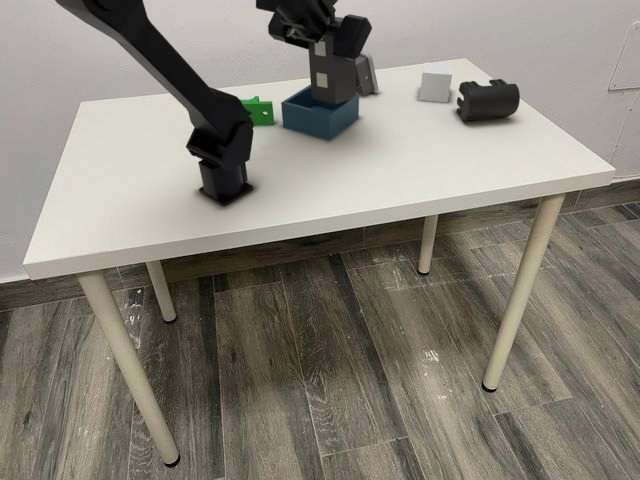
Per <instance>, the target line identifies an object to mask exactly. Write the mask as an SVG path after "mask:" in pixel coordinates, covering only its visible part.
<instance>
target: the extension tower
mask: <svg viewBox="0 0 640 480" xmlns="http://www.w3.org/2000/svg"><path fill="white" fill-rule="evenodd" d="M343 19H344V17H342V16H341V17H339V16H336V13H334V16H333V17H330V20H334V21H339V22H341V21H342V20H343ZM334 38H335V37H332V36H328V35H324V37H323V39H322V40H319V42H318V43H314V42H310V41H308V49H307V50H308V63H309V64H308V65H309V76H310V84H311V94H312V99H314V100H318V101H322V102H327V103H331V104H335V105H336V104H338V103H341V102H343V101H345V100H348V99H350V98H352V97H354V96H356V59H354V61H353V62H352V61H349V60H346V59H343V58H340V57H337V56H334V55H332V54H333V52H334V50H333V40H334Z"/></svg>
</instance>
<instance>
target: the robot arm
mask: <svg viewBox="0 0 640 480" xmlns="http://www.w3.org/2000/svg"><path fill="white" fill-rule="evenodd" d="M54 1H55V2H56V4H58V5H59V6H60V7H61V8H63V9H64V10H65V11H67V12H68V13H70V14H71V15H73V16H75V17H77V19H79V20H80V21H81V22H83V23H84V24H87V25H89V26H90V27H91V28H93V29H95V30H97V31H99V32H100V33H102V34H104V35H105V36H107V37H109V38H111V39H112V40H114V41H115V42H116V43H117V44H119V46H120V47H121V48H123V49H124V50H125V51H126V52H127V53H128V54H129V55H130V56H131V58H132V59H134V60H135V61H136V62H137V63H138V64H139V65H140V66H141V67H142V68H143V69H145V71H147V72H148V74H149V75H150V76H151V77H153V79H155V80H156V82H158V83H159V84H160V85H161V86H162V87H163V88H164V89H165V90H166V91H167V92H168V93H169V94H170V95H171V96H172V97H173V98H174V99H175V100H176V101H178V103H179V104H181V106H183V108H185V109H186V111H187V112H188V117H189V121H190V123H191V124H192V126H193V130H192V132H191V134H190V136H189V138H188V140H187V143H186V145H185V148H186V149H187V151H188V152H189V154H190V155H191V156H193V157H195V158H198V159H200V160H199V161H198V163H197V164H198V167H199V172H200V177H201V181H202V187H199V188H198V192H199V194H201V195H203V196H205V197H207V198H208V199H210V200H211V201H213V202H215V203H217V204H218V205H220V206H222V207H226V206H227V205H229V204H231V203H232V202H235V201H237V200H238V199H239V198H241V197H243V196H244V195H246V194H248V193H249V192H251V191H253V190H254V185H253V184H251V183H249V182H248V181H249V178H248V171H247V162H249V161H250V160H251V153H252V148H253V140H254V127H255V125H254V123H253V121H252V119H251V117H250V116H249V115H251V114H252V112H250V111H248V110H247V109H245V107H244V106H243V104H242V102H241V101H240V100H241V99H240V98H239V96H237V95H235V94H232V93H228V92H226V91H222V90H220V89H217V88H214V87H211V86H209V85H208V84H207V83H206V82H205V81H204V79H203V78H202V77H201V76H200V75H199V74H198V73H197V71H195V69H194V67H192V66H191V65H190V64H189V62H188V61H186V60H185V58H184V56H182V55H181V54H180V53H179V52H178V50H177V49H175V47H174V46H173V45H172V44H171V43H170V42H169V41H168V39H167V38H166V37H165V36H164V35H163V34H162V33H161V32H160V31H159V30H158V29H157V27H156V26H155V25H154V24H153V22H151V20H150V19H149V17H148V13H147V9H146V7H145V3H144V0H54ZM338 1H339V0H255V8H256V9H257V10H261V11H264V12H265V11H266V12H270V13H273V14H272V16H271V19H270V21H269V22H268V25H267V31H268V35H269V36H270V37H271V38H272V39H273V40H275V41H280V42H283V43H285V44H287V45H291V46H295V47H298V48H300V49H304V50H308V41H310V42H314V43H318V42H319V40H322V39H323V37H324V35H328V36H332V37H335V38H334V40H333V50H334V52H333V54H332V55H334V56H337V57H340V58H343V59H346V60H349V61H352V62H353V61H354V59H356V58H358V57H359V55H360V53H361V51H362V50H363V49H364V47H365V46H366V42H367V40H368V39H369V36H370V34H371V33H372V29H373V26H372V23H371V22H370V20H369V18H368V17H366V16H361V15H355V14H351V13H349V14H346V15H344V17H343V18H344V19H343V20H342V21H341V22H339V21H334V20H330V17H333V16H334V14H336V11H337V9H336V8H335V5H336V3H338Z"/></svg>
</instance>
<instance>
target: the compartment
mask: <svg viewBox="0 0 640 480" xmlns="http://www.w3.org/2000/svg"><path fill="white" fill-rule="evenodd" d="M280 106H281V107H280V108H281V119H282V127H283V128H286V129H289V130H292V131H297V132H300V133H303V134H306V135H310V136H312V137H316V138H319V139H323V140H325V141H331V140H332V139H333V138H335V137H336V136H337V135H339V134H340V133H342V131H344V130H345V129H347V128H348V127H349V126H350V125H352V124H353V123H354V122H355V121H357V120H358V119H359V116H360V115H359V112H360V109H359V108H360V94H358V93H356V96H354V97H352V98H350V99H348V100H345V101H343V102H341V103H338V104H336V105H335V104H331V103H327V102H322V101H318V100H314V99H312V94H311V83H310V84H308V85H307V86H305V87H304V88H301V90H299V91H297V92H296V93H294V94H292V95H290V96H289V97H287V98H286V99H284V100H283V101H281V102H280Z"/></svg>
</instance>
